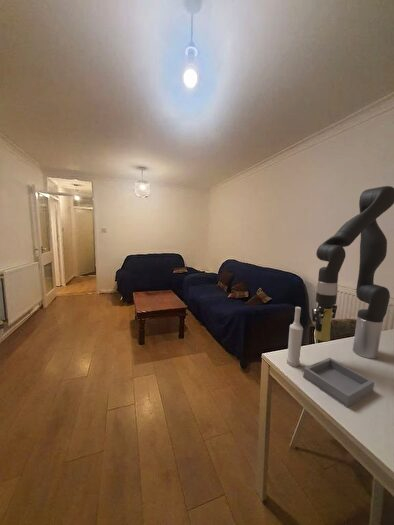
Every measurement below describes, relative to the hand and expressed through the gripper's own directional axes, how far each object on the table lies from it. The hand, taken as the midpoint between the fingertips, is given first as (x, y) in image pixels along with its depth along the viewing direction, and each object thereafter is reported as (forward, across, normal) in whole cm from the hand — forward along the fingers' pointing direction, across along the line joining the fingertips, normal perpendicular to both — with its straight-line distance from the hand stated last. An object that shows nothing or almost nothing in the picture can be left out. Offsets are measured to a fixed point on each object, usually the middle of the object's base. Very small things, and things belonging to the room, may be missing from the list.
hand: (322, 329), depth 94 cm
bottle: (+14, +14, -3) cm, 20 cm away
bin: (+14, +10, +13) cm, 21 cm away
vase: (+4, 0, 0) cm, 4 cm away
